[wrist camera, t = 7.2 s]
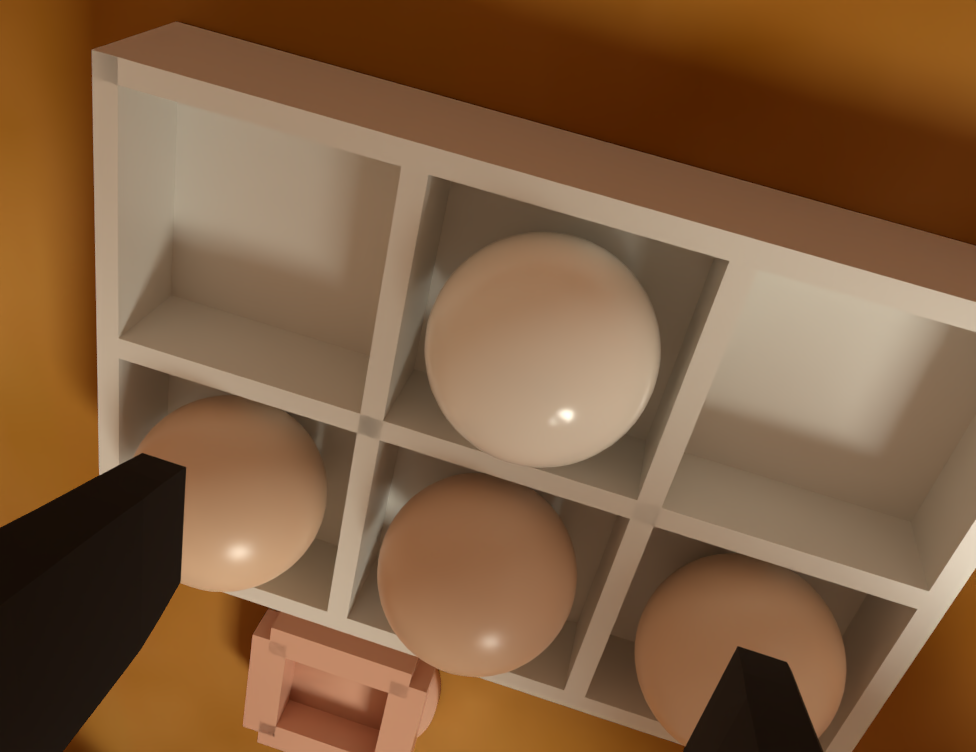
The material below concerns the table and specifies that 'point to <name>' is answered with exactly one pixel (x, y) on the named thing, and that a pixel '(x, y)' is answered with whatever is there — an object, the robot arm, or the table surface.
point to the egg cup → (334, 690)
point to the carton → (490, 481)
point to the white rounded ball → (542, 349)
